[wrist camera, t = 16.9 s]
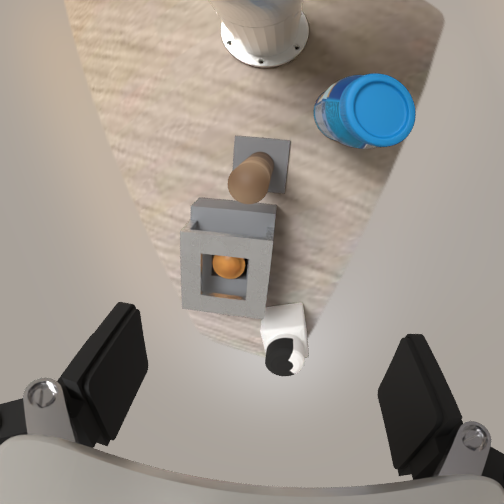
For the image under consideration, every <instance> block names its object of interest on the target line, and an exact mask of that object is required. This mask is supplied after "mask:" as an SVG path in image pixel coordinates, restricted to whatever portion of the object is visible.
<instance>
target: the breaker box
mask: <svg viewBox="0 0 504 504" xmlns="http://www.w3.org/2000/svg"><path fill="white" fill-rule="evenodd" d="M276 206H277V205H273V204H264V203H254V204H243V203H240V202H238V201H233V200H222V199H211V198H199V199H198V200H197V201H196V202H195V203H193V204H192V205H191V220H197V228H196V229H195V230H201V231H210V232H220V233H230V234H239V235H249V236H258V237H266V232H267V227H271V228H274V227H275V218H276ZM214 256H215V255H210V254H202V291H204V292H211V293H219V294H227V295H235V296H243V297H246V293H247V281H248V268H249V259H248V265H245V269H244V271H243V273H242V274H241V275H240V276H239V277H237V278H234V279H226V278H223V277H221V276H219V275H218V274H217V273H216V272H215V270H214V268H213V263H212V262H213V258H214Z"/></svg>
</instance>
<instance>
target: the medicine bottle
mask: <svg viewBox="0 0 504 504" xmlns="http://www.w3.org/2000/svg"><path fill="white" fill-rule="evenodd" d="M260 333H261V337H262V341H263V345H264V349H265V353H266V360H265V364H266V367H267V368H268V370H269V371H271V372H272V373H274V374H276V375H279V376H291V375H294V374H296V373H298V372H299V371H300V370H301V369H302V368H303V366H304V363H305V358H307V357H308V356H309V353H308V339H307V329H306V322H305V315H304V308H303V303H302V302H300V303H293V304H285V305H278V306H270V307H266V308H265V316H264V319H262V321H261V329H260Z"/></svg>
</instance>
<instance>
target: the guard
mask: <svg viewBox="0 0 504 504" xmlns="http://www.w3.org/2000/svg"><path fill="white" fill-rule="evenodd" d="M196 228H197V220H190V221H189V222H188V223H187V224H186V225H185V226H184V227H183V229H182V230H181V231H180V258H181V291H182V308H183V309H189V310H196V311H203V312H210V313H217V314H225V315H233V316H241V317H249V318H257V319H264V316H265V308H266V299H267V291H268V283H269V274H270V266H271V257H272V248H273V239H274V228H271V227H267V232H266V237H258V236H249V235H239V234H230V233H220V232H210V231H201V230H195V229H196ZM202 254H210V255H219V256H228V257H237V258H246V259H249V268H248V281H247V293H246V297H243V296H235V295H227V294H219V293H211V292H204V291H202Z"/></svg>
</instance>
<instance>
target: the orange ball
mask: <svg viewBox="0 0 504 504" xmlns="http://www.w3.org/2000/svg"><path fill="white" fill-rule="evenodd" d="M212 263H213V268H214V270H215V272H216V273H217V274H218V275H219V276H221V277H223V278H226V279H234V278H237V277H239V276H240V275H241V274H242V273H243V271H244V269H245V258H237V257H228V256H219V255H215V256H214V258H213V262H212Z"/></svg>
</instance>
